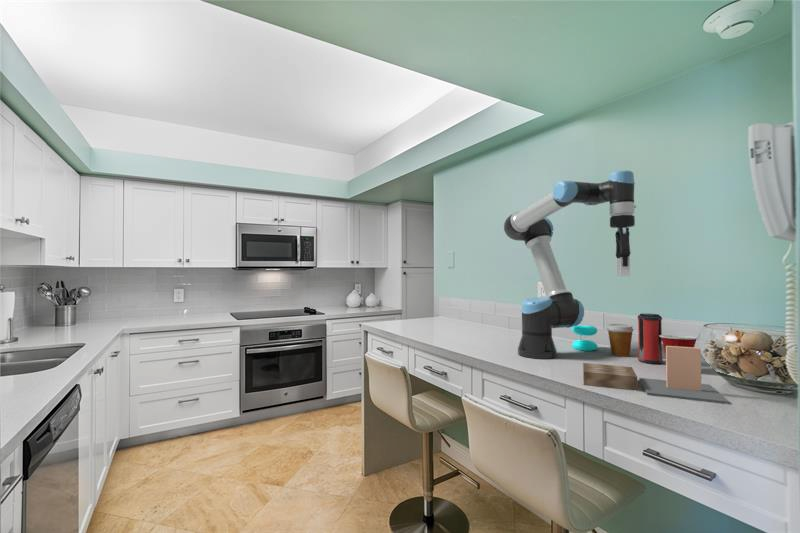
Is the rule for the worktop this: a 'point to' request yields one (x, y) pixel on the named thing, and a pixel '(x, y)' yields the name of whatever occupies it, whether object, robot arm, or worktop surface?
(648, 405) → the worktop surface
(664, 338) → the plastic cup
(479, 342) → the worktop surface
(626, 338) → the disposable coffee cup
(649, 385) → the mat
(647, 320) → the speaker
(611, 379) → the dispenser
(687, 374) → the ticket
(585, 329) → the turquoise double disc piece
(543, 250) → the robot arm
